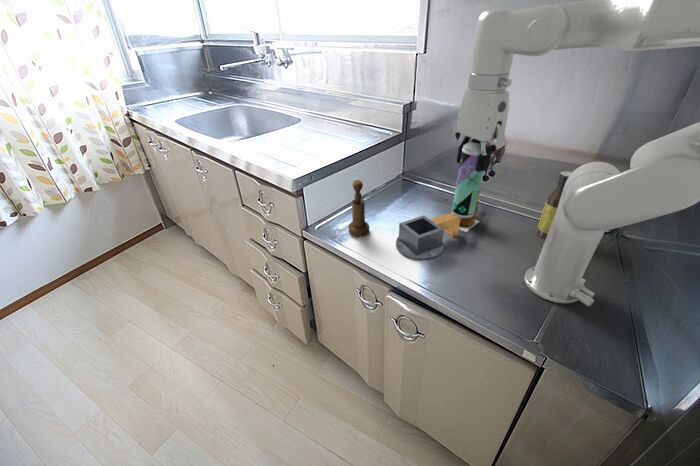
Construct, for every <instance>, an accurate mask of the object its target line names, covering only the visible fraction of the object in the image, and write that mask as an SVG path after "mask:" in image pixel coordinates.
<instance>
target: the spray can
mask: <svg viewBox="0 0 700 466" xmlns="http://www.w3.org/2000/svg"><path fill="white" fill-rule="evenodd" d="M487 148H488V146H487ZM480 154H481V141H478V140H476V139H473V138H471V140H470V142H469V143H466V144H464V145H463V148H462V154H461V160H460V163H459V167H458V173H457V177H456V178H457V179H456V184H455V189H454V195H453V196H454V197H453V203H452V210H451V213H453V214H454V215H455V216H457V217H460V218H470V217H472V216H473V215H474V211H475V207H476V202H477V197H478V193H479V194H480V188H481V183H482V178H483V173H484V171H480V172H477V171H476V166H477V161H478V156H479V155H480Z"/></svg>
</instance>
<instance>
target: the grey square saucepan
mask: <svg viewBox="0 0 700 466" xmlns="http://www.w3.org/2000/svg"><path fill="white" fill-rule="evenodd" d="M459 223H460V217H457V216H455V215H454V214H453V213H452V212H450V213H446V214H442V215H440V216H437V217H435V218H434V217H433V218H432V219H431V218H429V217H427V216H426V215H420V216H417V217H415V218H411V219H409V220H406V221H403V222H400V223H398V224H399V226H398V236H397V238H396V241H395V247H396V251H398V252H399V254H400V255H402V256H403V257H406V258H407V259H411V260H415V261H431V260H434V259H436V258H439V257H440V256H441V255H442V254H443V252H444V248H445V247H444V246H445V244H444V241H443V239H444V232H445V233H446V234H448V235H449V236H450V237H451V238H453V237H456V236H458V233H459V230H460V229H459Z"/></svg>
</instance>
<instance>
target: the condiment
mask: <svg viewBox="0 0 700 466" xmlns="http://www.w3.org/2000/svg"><path fill="white" fill-rule="evenodd" d="M479 203H480V192H479V193H478V197H477V202H476V207H475V211H474V215H473V216H472V217H470V218H460V223H459V229H458V230H461V231H462V232H465V233H467V232H469V231H470V230H471V229H472V228H473V227H475V226H476V225H477V224H478V223H480V221H479V220H477V219H476V216H477V213H478V208H479V207H478V206H479Z"/></svg>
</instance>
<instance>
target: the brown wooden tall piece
mask: <svg viewBox="0 0 700 466" xmlns="http://www.w3.org/2000/svg"><path fill="white" fill-rule="evenodd" d="M363 186H364V185H363V182H362V180H360V179H357V180H354V181H353V182H352V188H353V190H354V191H355V192H354V193H353V197H354V199H352V201H351V211H352V212H351V213H352V217H351V218H352V222H350V223H349V224H348V233H349V235H350V236H352V237H354V238H364V237H366V236H368V235H369V233H370V224H369V223H368V222H366V218H365V217H366V215H365V213H366V211H365V200H364V199H362V193H361V190H362V188H363Z"/></svg>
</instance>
